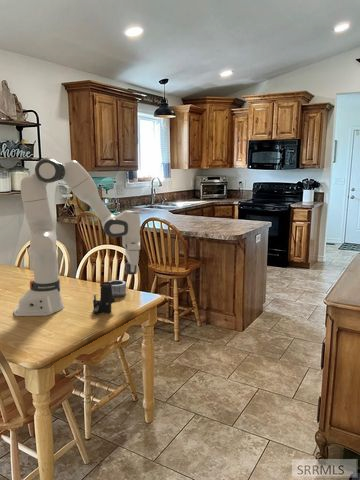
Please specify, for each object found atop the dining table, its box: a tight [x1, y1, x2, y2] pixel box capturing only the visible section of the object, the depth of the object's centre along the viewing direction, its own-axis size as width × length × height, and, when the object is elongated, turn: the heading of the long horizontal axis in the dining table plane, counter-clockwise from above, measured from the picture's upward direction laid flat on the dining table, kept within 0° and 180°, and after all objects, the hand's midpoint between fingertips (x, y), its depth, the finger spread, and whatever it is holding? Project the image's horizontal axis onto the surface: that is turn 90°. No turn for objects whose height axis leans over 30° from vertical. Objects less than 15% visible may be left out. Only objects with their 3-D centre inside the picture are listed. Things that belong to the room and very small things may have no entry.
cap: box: [125, 261, 138, 276], centre depth 194 cm, size 5×5×6 cm
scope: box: [92, 281, 116, 315], centre depth 182 cm, size 8×14×10 cm
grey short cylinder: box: [108, 279, 127, 299], centre depth 206 cm, size 10×10×6 cm
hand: (131, 269), depth 194 cm, fingers closed on cap, 5 cm apart
